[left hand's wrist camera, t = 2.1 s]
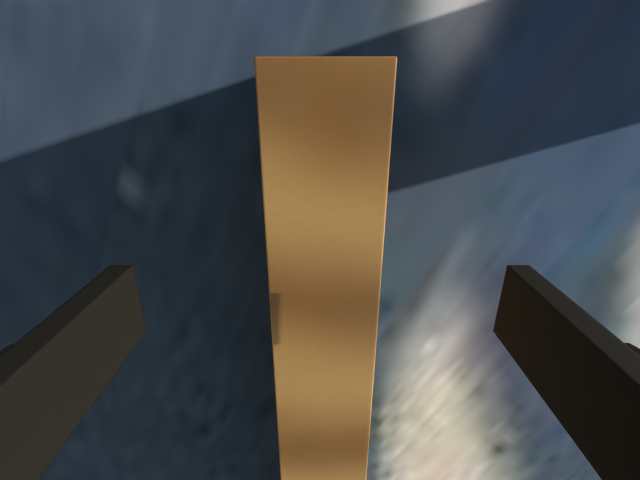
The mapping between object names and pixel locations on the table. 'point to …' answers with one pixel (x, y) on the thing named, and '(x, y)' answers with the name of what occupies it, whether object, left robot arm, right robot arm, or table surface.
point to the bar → (324, 250)
